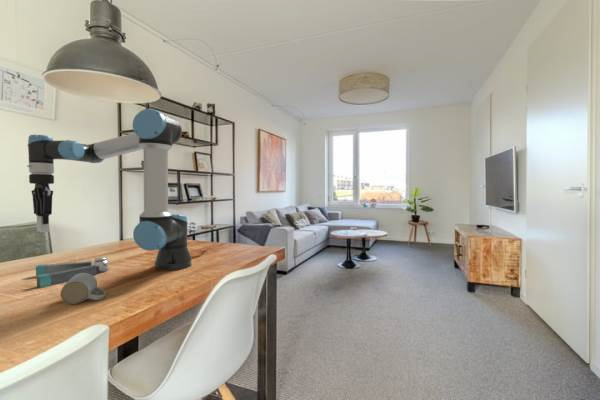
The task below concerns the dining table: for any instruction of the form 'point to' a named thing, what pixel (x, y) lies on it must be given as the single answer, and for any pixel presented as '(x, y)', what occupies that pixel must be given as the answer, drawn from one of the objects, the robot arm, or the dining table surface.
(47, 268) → the tong swing arm
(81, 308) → the dining table surface
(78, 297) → the ceramic mug
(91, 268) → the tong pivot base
